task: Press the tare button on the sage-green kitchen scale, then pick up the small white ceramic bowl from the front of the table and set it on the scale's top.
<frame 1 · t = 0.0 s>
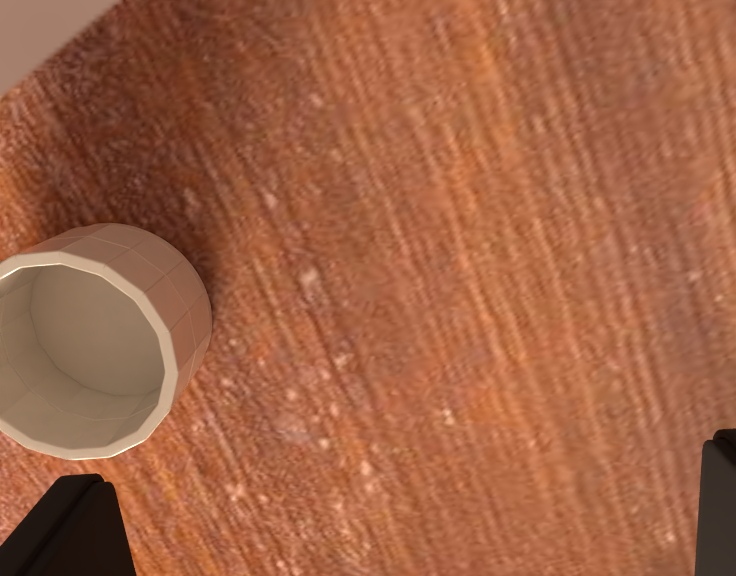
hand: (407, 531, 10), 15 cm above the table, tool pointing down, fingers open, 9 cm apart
white bowl: (119, 314, 25), on the table
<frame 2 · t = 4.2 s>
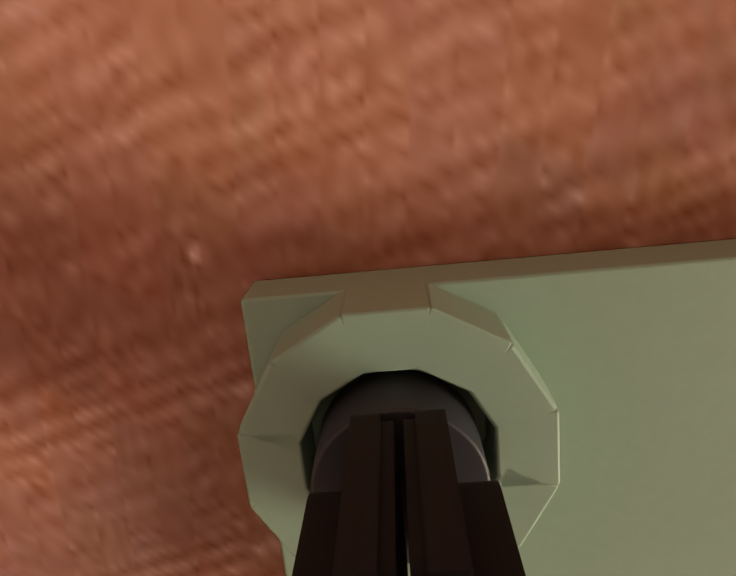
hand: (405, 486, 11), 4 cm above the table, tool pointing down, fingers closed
tare button: (399, 463, 12), point 3 cm above the table, slide at -0.3 cm, touching gripper
scale: (610, 520, 16), on the table
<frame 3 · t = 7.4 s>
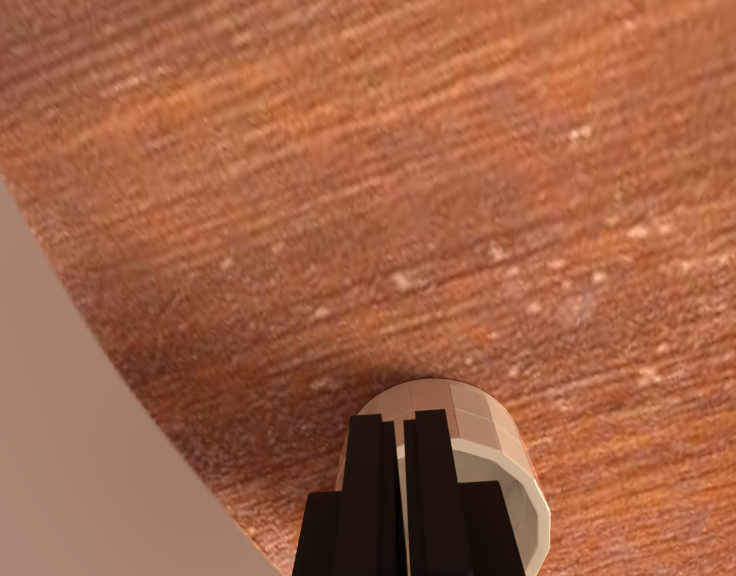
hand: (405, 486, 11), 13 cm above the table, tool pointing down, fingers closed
white bowl: (432, 460, 26), on the table
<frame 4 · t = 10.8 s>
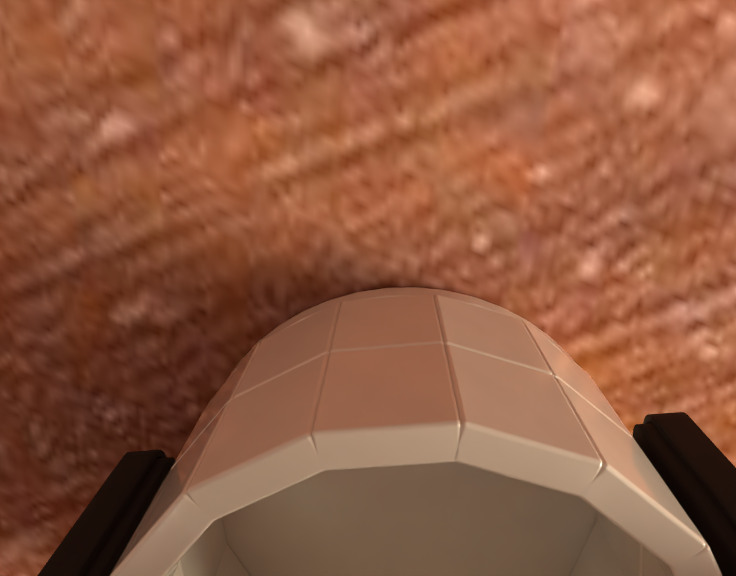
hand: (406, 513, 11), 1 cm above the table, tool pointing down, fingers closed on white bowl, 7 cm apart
white bowl: (405, 481, 11), on the table, touching gripper
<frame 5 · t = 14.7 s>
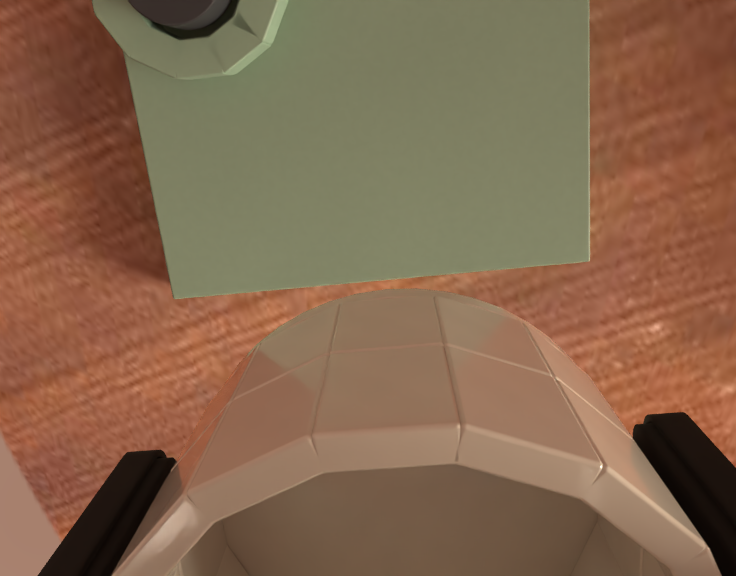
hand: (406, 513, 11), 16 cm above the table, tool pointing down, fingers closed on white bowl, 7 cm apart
scale: (359, 90, 24), on the table
white bowl: (405, 482, 11), point 15 cm above the table, touching gripper
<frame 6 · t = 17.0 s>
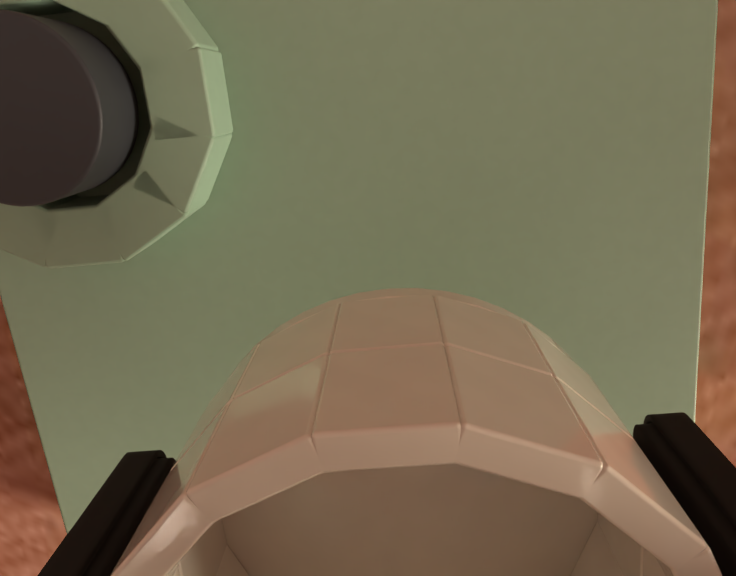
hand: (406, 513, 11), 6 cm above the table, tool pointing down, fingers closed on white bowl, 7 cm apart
tare button: (33, 110, 12), point 3 cm above the table, slide at 0.1 cm
scale: (346, 253, 16), on the table
white bowl: (405, 482, 11), point 5 cm above the table, touching gripper
when the fingers open (2 cm above the table, at t = 18.8 s): white bowl stays where it is, resting on scale.
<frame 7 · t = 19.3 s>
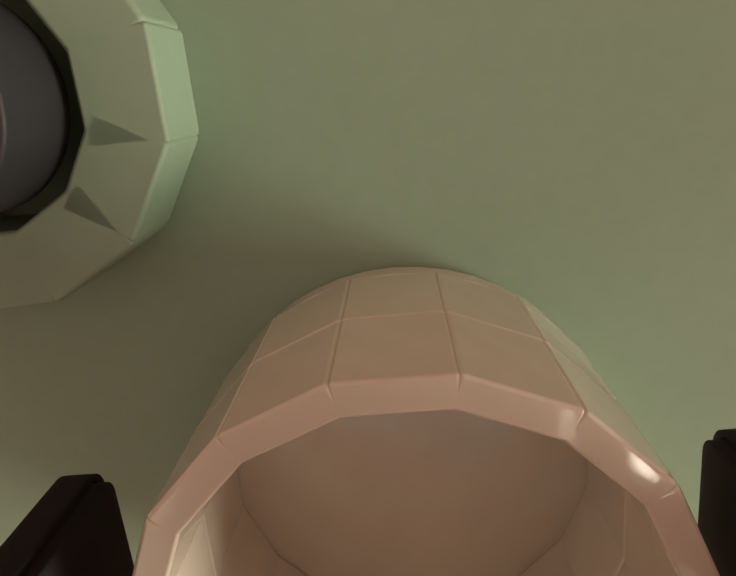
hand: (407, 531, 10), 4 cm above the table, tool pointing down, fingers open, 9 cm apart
scale: (344, 282, 13), on the table
white bowl: (409, 449, 12), point 1 cm above the table, touching scale
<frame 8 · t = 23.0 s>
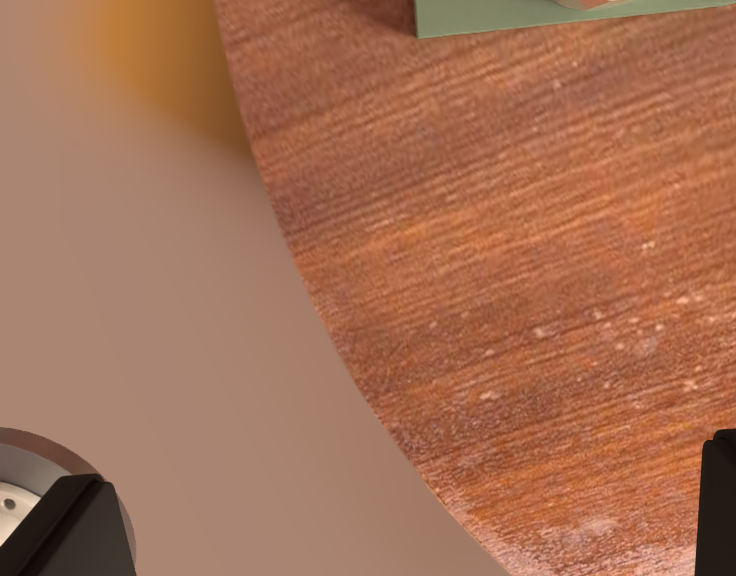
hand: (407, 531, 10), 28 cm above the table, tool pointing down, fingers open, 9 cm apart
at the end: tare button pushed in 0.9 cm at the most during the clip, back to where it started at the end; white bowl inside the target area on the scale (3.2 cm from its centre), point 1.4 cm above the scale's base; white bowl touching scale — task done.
